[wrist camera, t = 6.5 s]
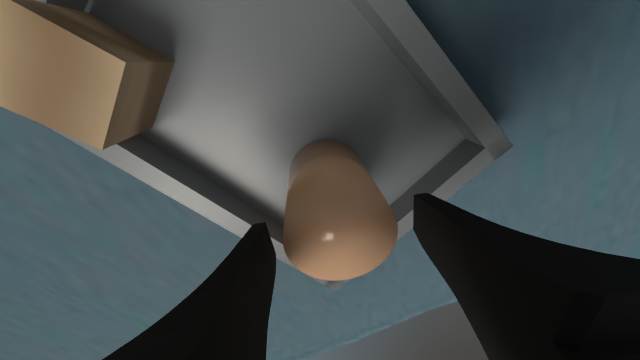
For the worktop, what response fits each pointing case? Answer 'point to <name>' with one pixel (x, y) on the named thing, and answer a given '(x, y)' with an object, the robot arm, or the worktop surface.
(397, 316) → the worktop surface
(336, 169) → the tan rounded cylinder
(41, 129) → the worktop surface
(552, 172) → the worktop surface
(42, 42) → the oak cube
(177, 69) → the tray
